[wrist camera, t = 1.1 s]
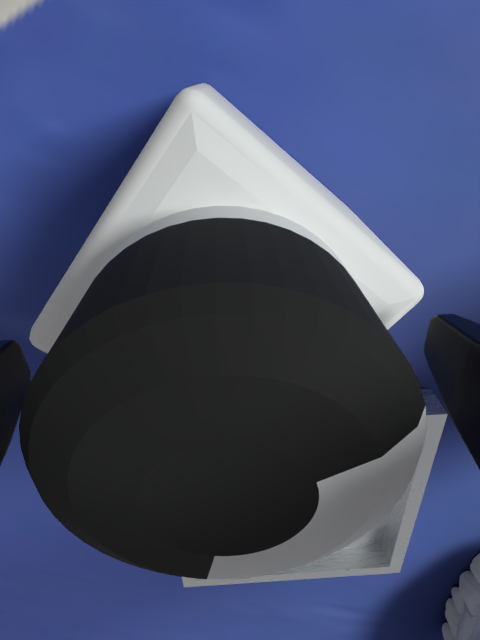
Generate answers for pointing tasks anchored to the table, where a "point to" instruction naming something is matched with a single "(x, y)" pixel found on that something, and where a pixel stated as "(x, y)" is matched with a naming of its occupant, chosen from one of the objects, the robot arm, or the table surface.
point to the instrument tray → (381, 541)
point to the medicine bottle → (223, 362)
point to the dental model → (464, 606)
